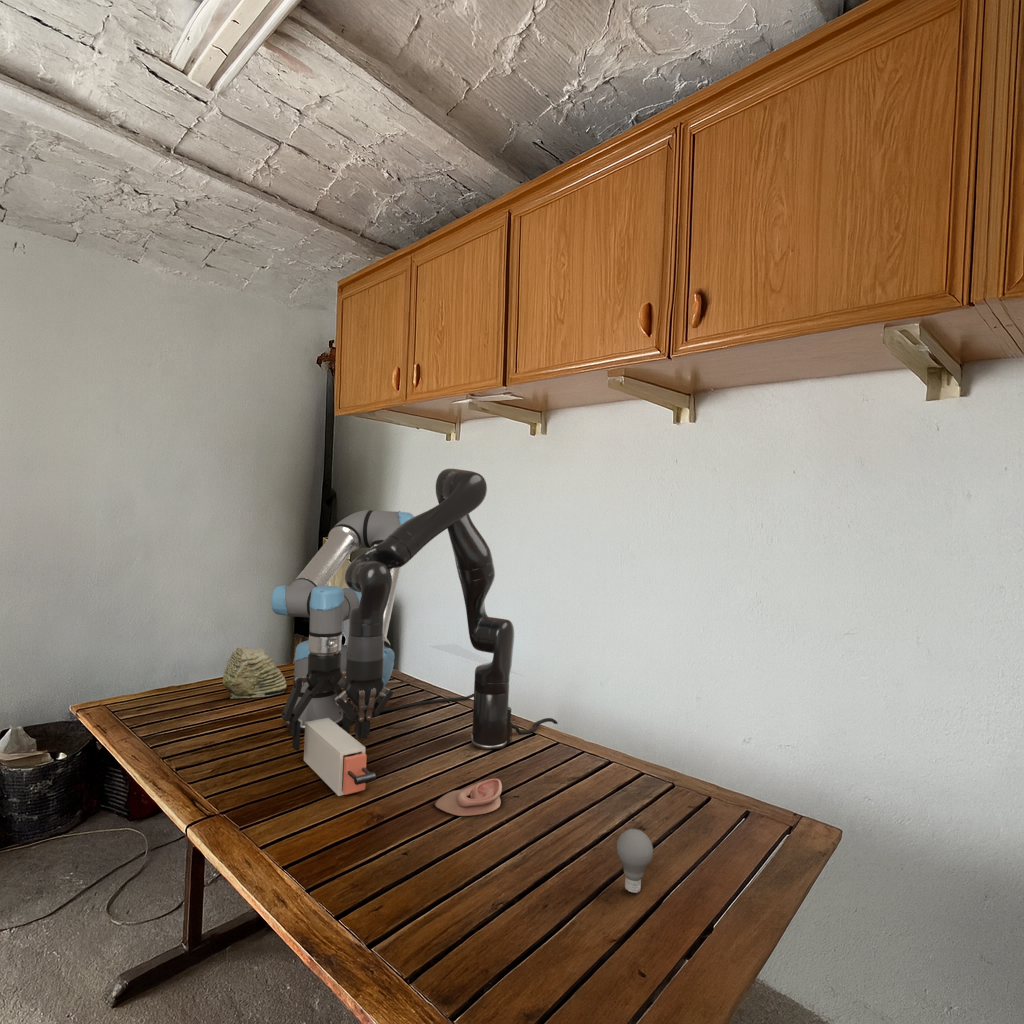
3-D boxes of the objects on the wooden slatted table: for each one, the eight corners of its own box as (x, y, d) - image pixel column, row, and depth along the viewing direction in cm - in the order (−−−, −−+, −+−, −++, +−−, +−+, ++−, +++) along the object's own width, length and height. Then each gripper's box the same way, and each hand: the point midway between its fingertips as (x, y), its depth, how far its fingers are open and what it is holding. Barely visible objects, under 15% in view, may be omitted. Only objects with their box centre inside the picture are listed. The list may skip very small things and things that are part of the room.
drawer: (376, 799, 132) (377, 763, 132) (355, 805, 129) (356, 768, 129) (329, 756, 152) (330, 725, 152) (310, 760, 149) (311, 728, 149)
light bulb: (610, 879, 108) (613, 822, 108) (644, 879, 109) (647, 822, 109) (619, 902, 102) (622, 840, 102) (655, 901, 103) (658, 840, 103)
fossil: (218, 695, 195) (220, 647, 195) (278, 685, 208) (279, 640, 207) (228, 703, 189) (230, 653, 188) (289, 692, 201) (290, 645, 201)
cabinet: (364, 789, 138) (365, 747, 138) (338, 796, 134) (340, 752, 134) (327, 755, 155) (328, 717, 155) (303, 760, 151) (305, 721, 151)
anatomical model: (430, 792, 129) (447, 769, 140) (429, 811, 129) (446, 787, 140) (494, 801, 126) (506, 777, 137) (493, 821, 126) (505, 795, 138)
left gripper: (278, 661, 140) (275, 759, 140) (378, 650, 154) (374, 739, 154) (268, 654, 146) (265, 748, 146) (365, 643, 160) (361, 729, 160)
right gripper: (342, 663, 125) (338, 750, 126) (402, 655, 133) (398, 737, 134) (327, 655, 131) (324, 738, 131) (386, 648, 139) (382, 726, 140)
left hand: (321, 743), depth 150 cm, fingers open, 11 cm apart
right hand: (362, 737), depth 133 cm, fingers closed
